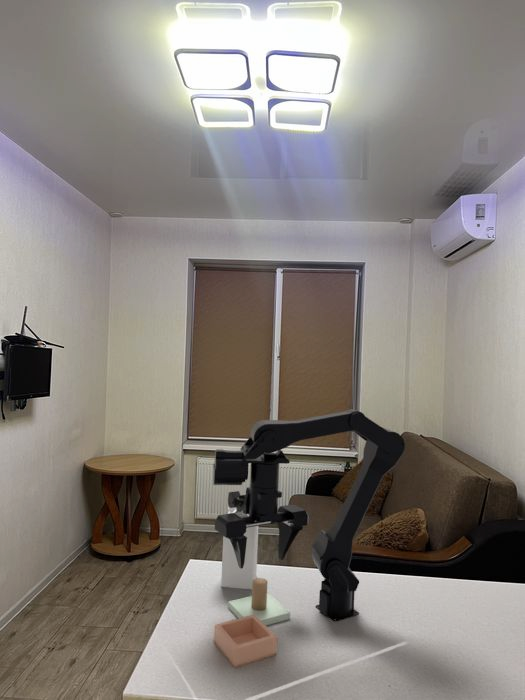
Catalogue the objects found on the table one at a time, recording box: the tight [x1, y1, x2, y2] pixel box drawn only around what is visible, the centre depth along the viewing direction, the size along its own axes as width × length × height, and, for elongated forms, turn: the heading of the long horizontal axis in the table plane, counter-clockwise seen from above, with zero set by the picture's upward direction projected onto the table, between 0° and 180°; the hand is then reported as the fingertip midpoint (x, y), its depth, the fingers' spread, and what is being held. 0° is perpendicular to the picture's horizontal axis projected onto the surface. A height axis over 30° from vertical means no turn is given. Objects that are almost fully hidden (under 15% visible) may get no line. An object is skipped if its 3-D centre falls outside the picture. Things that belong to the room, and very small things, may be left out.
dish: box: [213, 614, 278, 669], centre depth 84 cm, size 8×8×4 cm
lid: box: [227, 577, 291, 626], centre depth 96 cm, size 9×9×6 cm
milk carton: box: [220, 506, 259, 590], centre depth 110 cm, size 7×7×19 cm
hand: (261, 563), depth 96 cm, fingers open, 9 cm apart
